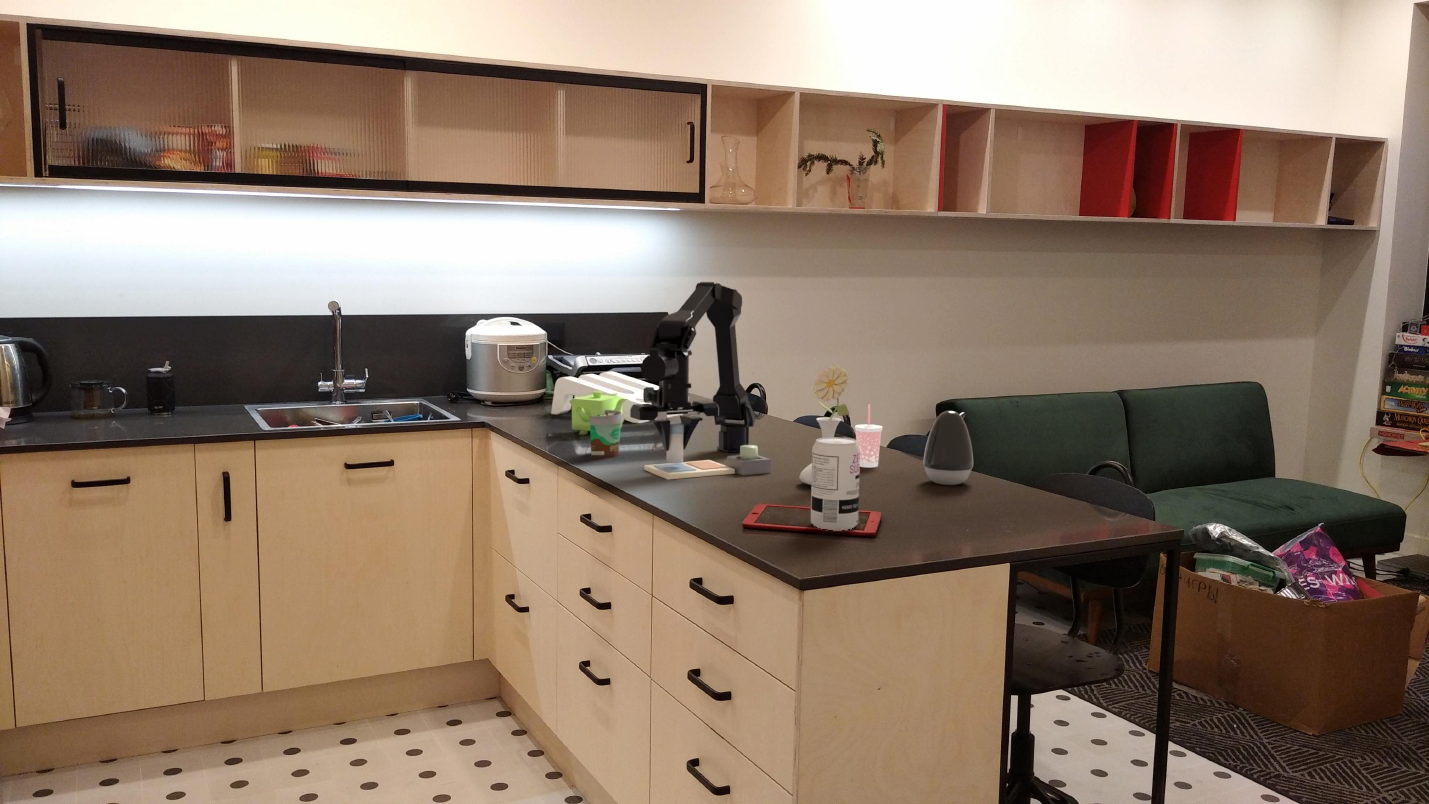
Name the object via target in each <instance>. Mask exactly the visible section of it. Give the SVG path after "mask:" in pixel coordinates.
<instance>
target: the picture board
mask: <svg viewBox="0 0 1429 804" xmlns="http://www.w3.org/2000/svg"><path fill="white" fill-rule="evenodd" d="M643 466H644V471H647V472H649V473H651V474H653V475H656V476H658V477H661V478H663V479H666V480H675V479H676V480H677V479H678V480H679V479H690V478H698V477H699V478H700V477H711V476H721V475H722V476H723V475H733V474H736V473H735V469H733V468H731V467H728V466H727V465H725V464H723V463H720V462H716V461H714V460H711V459H704V460H702V459H701V460H692V461H683V462H682V463H667V462H665V463H655V464H645V465H643Z"/></svg>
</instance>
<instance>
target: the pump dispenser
mask: <svg viewBox="0 0 1429 804" xmlns="http://www.w3.org/2000/svg"><path fill="white" fill-rule="evenodd" d="M965 417H966V413H965V412H963V411H962V412H961V413H958V412H957V411H954V410H945V411H943V412H941V413H940V414H939V415H938V416H937V417H936V419H935V421H934V422H933V425H932V426H931V429H930V432H929V434H928V438H927V441H926V444H925V450H924V455H923V461H922V462H923V463H922V465H923V467H924V470H925V473H926V476H927V477H928V479H930V481H932V482H934V483H935V484H938V485H942V486H943V485H945V486H957V485H960V484H962V483H964V482H965V481H967V479H969V476H970V474H971V472H972V469H973V467H974V455H973V454H974V453H973V447H972V441H971V437H970V433H969V430H968V426H967V424H966V423H965V420H964V418H965Z"/></svg>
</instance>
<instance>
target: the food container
mask: <svg viewBox="0 0 1429 804" xmlns="http://www.w3.org/2000/svg"><path fill="white" fill-rule="evenodd" d="M624 421H625V420H624V419H623V415H622V414H621V412H620V411H615V410H605V411H604V414H602V415H597V416H590V421H589V425H590V431H589V432H590V455H591V456H590V458H591V459H608V458H615V457H618V456H619V454H620V452H619V451H620V443H621V442H620V441H621V428H622V427H621V423H622V424H623V423H624Z"/></svg>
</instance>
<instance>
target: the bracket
mask: <svg viewBox="0 0 1429 804" xmlns="http://www.w3.org/2000/svg"><path fill="white" fill-rule="evenodd" d="M646 387H653V388H654V390H658V389H659V385H656V384H653V383H649V382H646V381H643V380H641V379H637V378H635V377H631V376H628V375H625V374H623V373H618V372H616V371H605V372H603V371H602V372H601V373H600V374H599V375H597V374H594V373H587V374H580V376H578V378H577V377H574V376H572V375H571V376H562V377H559V378H558V379H557V380H556V381H555V384H554V390H553V391H554V392H553V397H552V405H551V412H550V414H551V415H561V414H567V413H568V412H569V411H570V410H572V405H571V404H570V402H569V401H571V400H572V399H573V397H574V398H578V397H583V396H588V395H593V393H592V392H594V391H600V392H602V395H607V396H611V395H612V394H613V393H618V394H617V395H616V396H620V397H622V399H628V400H626V401H625V402H624V403H623V404H622V415H623V420H624V421H626V422H627V421H628V422H631V423H635V424H642V423H647V422H649V421H648V420H638V419H635V418H632V417H630V409H631V407H632V406H633V404H651V403H645V402H644V399H643V389H644V388H646ZM689 400H690V397H689V398H688V402H690V401H689ZM651 405H652V404H651ZM670 409H671V408H670ZM681 415H683V414H674V415H667V418H673V417H677V416H681Z"/></svg>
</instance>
